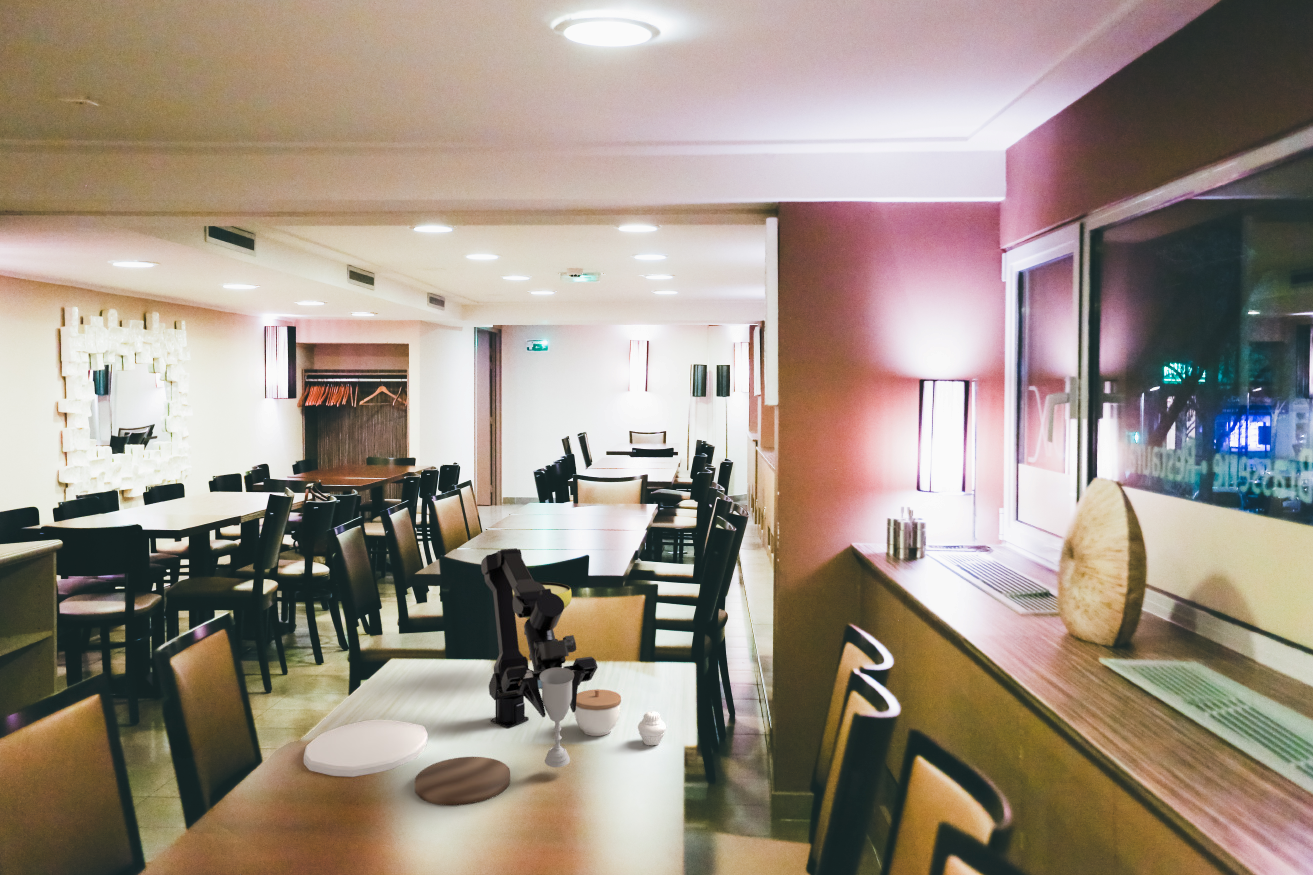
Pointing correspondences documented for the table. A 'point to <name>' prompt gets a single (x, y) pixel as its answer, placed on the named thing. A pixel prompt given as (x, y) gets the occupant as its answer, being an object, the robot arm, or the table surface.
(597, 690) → the lidded jar
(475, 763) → the serving board
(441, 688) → the table surface
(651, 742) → the muffin
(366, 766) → the decorative plate
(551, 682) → the chalice
